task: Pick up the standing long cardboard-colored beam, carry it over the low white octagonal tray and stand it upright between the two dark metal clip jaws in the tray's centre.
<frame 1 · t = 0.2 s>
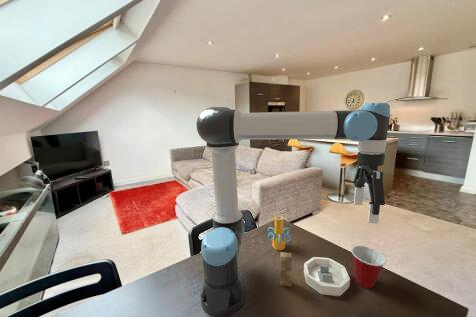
hand: (364, 212, 73), 28 cm above the table, fingers open, 13 cm apart
long cardboard-colored beam: (285, 283, 80), on the table
white octagonal tray: (325, 278, 81), on the table
yellow blue ringed piece: (278, 246, 101), on the table
plastic cup: (365, 282, 79), on the table
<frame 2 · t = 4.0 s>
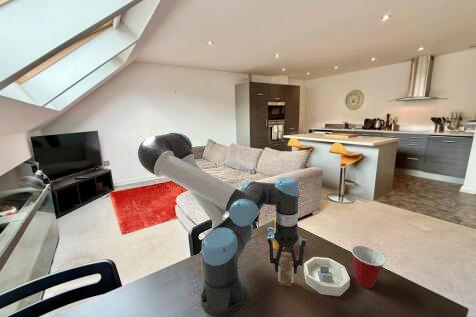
hand: (285, 279, 79), 2 cm above the table, fingers closed on long cardboard-colored beam, 4 cm apart
long cardboard-colored beam: (285, 283, 80), on the table, touching gripper
everything else where it was.
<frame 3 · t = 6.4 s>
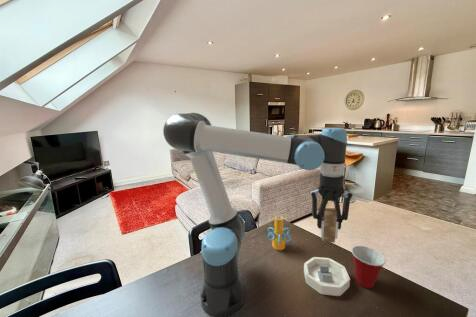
hand: (328, 236, 77), 18 cm above the table, fingers closed on long cardboard-colored beam, 4 cm apart
long cardboard-colored beam: (328, 240, 77), point 16 cm above the table, touching gripper
everything else where it was.
when the fingers open (4 cm above the table, at t = 9.1 s): long cardboard-colored beam drops 1 cm, resting on white octagonal tray.
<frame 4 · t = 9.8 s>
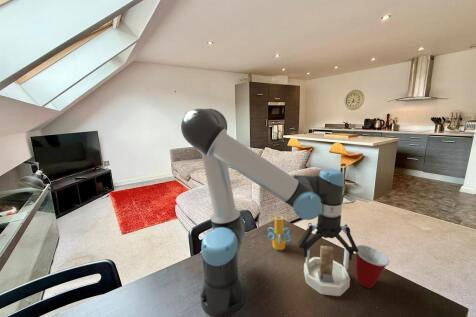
hand: (326, 265, 80), 6 cm above the table, fingers open, 13 cm apart
long cardboard-colored beam: (325, 276, 81), point 1 cm above the table, touching white octagonal tray
plastic cup: (365, 282, 79), on the table, touching gripper
everything else where it was.
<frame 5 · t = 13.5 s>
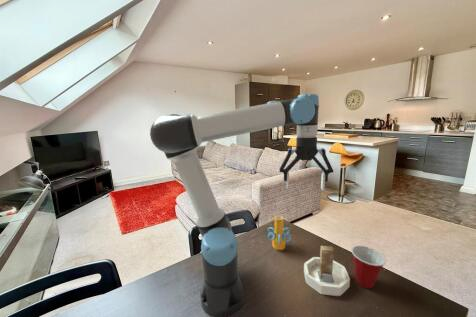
hand: (304, 189, 86), 32 cm above the table, fingers open, 13 cm apart
plastic cup: (365, 282, 79), on the table
everything else where it was.
at the end: long cardboard-colored beam 0.1 cm off-centre on the white octagonal tray, point 1.1 cm above the white octagonal tray's base; long cardboard-colored beam tilted 0°; the gripper is holding nothing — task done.
